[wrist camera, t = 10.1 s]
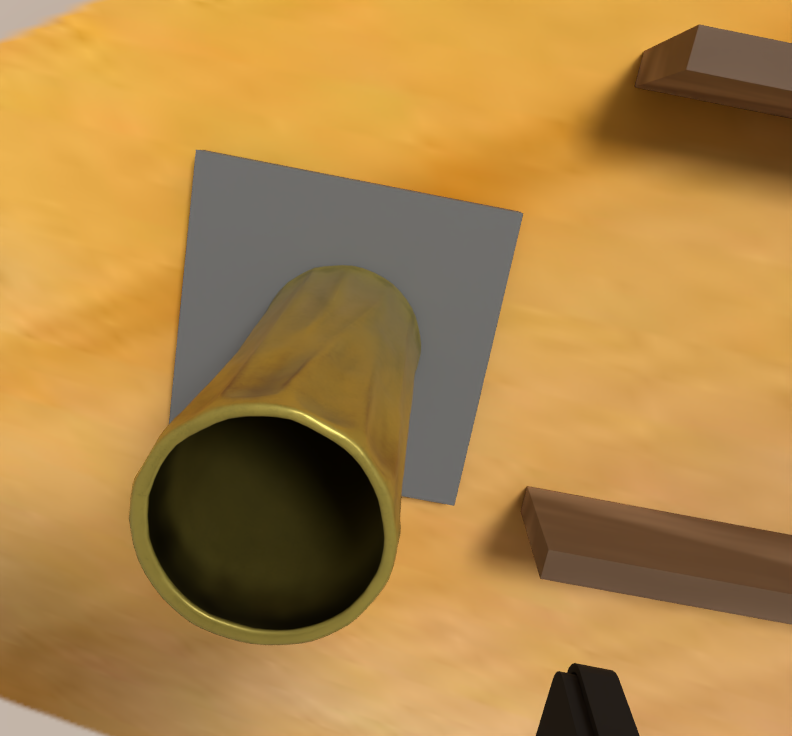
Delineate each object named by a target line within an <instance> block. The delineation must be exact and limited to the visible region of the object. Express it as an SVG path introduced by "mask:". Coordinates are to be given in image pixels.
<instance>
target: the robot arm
mask: <svg viewBox="0 0 792 736" xmlns="http://www.w3.org/2000/svg"><path fill="white" fill-rule="evenodd" d="M536 736H639V733H638V730H637V727H636V725H635V722H634V719H633V717H632V714H631V711H630V708H629V706H628V703H627V700H626V697H625V695H624V692H623V689H622V686H621V684H620V681H619V678H618V676H617V674H616V673H615V672H614V671H612V670H607V669H602V668H597V667H592V666H587V665H582V664H576V663H574V664H572V665H571V666H570V667H569V669H568V672H567V673H565V672H560V671H558V672H556V674H555V675H554V678H553V681H552V684H551V687H550V691H549V694H548V697H547V700H546V704H545V707H544V710H543V714H542V717H541V720H540V724H539V727H538V730H537V733H536Z"/></svg>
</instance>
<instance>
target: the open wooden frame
mask: <svg viewBox="0 0 792 736" xmlns="http://www.w3.org/2000/svg"><path fill="white" fill-rule="evenodd" d="M635 87H637V88H642V89H647V90H652V91H657V92H662V93H667V94H672V95H677V96H682V97H687V98H692V99H697V100H702V101H707V102H711V103H716V104H721V105H726V106H731V107H736V108H741V109H746V110H751V111H756V112H761V113H766V114H771V115H776V116H781V117H786V118H791V119H792V43H787V42H782V41H777V40H773V39H768V38H763V37H758V36H753V35H748V34H743V33H738V32H733V31H728V30H723V29H718V28H713V27H709V26H704V25H697V26H695V27H693V28H691V29H689V30H687V31H685V32H683V33H681V34H679V35H677V36H674V37H672V38H670V39H668V40H666V41H664V42H662V43H660V44H658V45H656V46H654V47H652V48H650V49H647V50H645V51H644V54H643V57H642V61H641V65H640V69H639V72H638V76H637V80H636V83H635ZM521 514H522V517H523V521H524V524H525V527H526V531H527V534H528V538H529V541H530V545H531V548H532V551H533V555H534V558H535V562H536V565H537V569H538V572H539V575H540V579H545V580H551V581H556V582H562V583H567V584H573V585H578V586H584V587H589V588H594V589H600V590H605V591H611V592H616V593H622V594H627V595H633V596H638V597H644V598H649V599H655V600H660V601H666V602H671V603H677V604H682V605H688V606H693V607H699V608H704V609H710V610H715V611H721V612H726V613H732V614H737V615H743V616H748V617H754V618H759V619H765V620H770V621H776V622H781V623H787V624H792V535H787V534H782V533H777V532H771V531H766V530H760V529H755V528H750V527H744V526H739V525H733V524H728V523H723V522H717V521H712V520H707V519H701V518H696V517H690V516H685V515H680V514H674V513H669V512H663V511H658V510H653V509H647V508H642V507H636V506H631V505H626V504H620V503H615V502H609V501H604V500H599V499H593V498H588V497H583V496H577V495H572V494H566V493H561V492H556V491H550V490H545V489H539V488H534V487H529V486H527V490H526V494H525V497H524V501H523V505H522V508H521Z"/></svg>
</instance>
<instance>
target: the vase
mask: <svg viewBox="0 0 792 736" xmlns="http://www.w3.org/2000/svg"><path fill="white" fill-rule="evenodd" d="M420 354H421V340H420V333H419V328H418V323H417V320H416V316H415V314H414V312H413V309H412V307H411V306H410V304H409V303H408V301H407V299H406V298H405V297H404V296H403V294H402V293H401V292H400V291H399V290H398V289H397V288H396V287H395V286H394V285H393V284H392V283H391V282H389V281H388V280H386V279H385V278H383V277H382V276H380V275H378V274H376V273H374V272H371V271H369V270H366V269H364V268H361V267H356V266H350V265H337V266H323V267H316V268H313V269H311V270H308V271H306V272H304V273H302V274H301V275H299V276H297V277H295V278H294V279H292V280H291V281H289V282H288V283H287V284H286V285H285V286H284V287H283V288H282V289H281V290H280V291H279V292H278V293H277V295H276V296H275V298H274V299H273V301H272V302H271V304H270V306H269V308H268V310H267V312H266V313H265V314H264V315H263V317H262V318H261V319H260V321H259V322H258V324H257V325H256V326H255V327H254V329H253V330H252V332H251V333H250V335H249V336H248V337H247V339H246V340H245V342H244V343H243V345H242V346H241V348H240V349H239V351H238V352H237V353H236V354H235V355H234V356H233V358H232V359H231V360H230V361H229V362H228V363H227V364H226V365H225V367H224V368H223V369H222V370H221V371H220V372H219V373H218V374H217V375H216V377H215V378H214V379H213V380H212V381H211V382H210V383H209V384H208V385H207V386H206V387H205V388H204V389H203V390H202V391H201V392H200V393H199V394H198V395H197V396H196V397H195V398H194V399H193V400H192V401H191V403H190V404H189V405H188V406H187V407H186V408H185V409H184V410H183V411H182V412H181V413H180V414H179V415H177V416H176V417H175V418H174V420H173V421H172V422H171V423H170V424H169V425H168V426H167V427H166V429H165V430H164V431H163V433H162V434H161V435H160V437H159V438H158V440H157V442H156V444H155V445H154V447H153V449H152V450H151V452H150V454H149V456H148V457H147V459H146V461H145V462H144V464H143V466H142V467H141V469H140V470H139V472H138V474H137V475H136V477H135V479H134V482H133V486H132V493H131V501H130V512H129V522H130V528H131V534H132V539H133V544H134V548H135V551H136V554H137V557H138V560H139V562H140V564H141V566H142V568H143V570H144V572H145V574H146V576H147V577H148V579H149V580H150V582H151V583H152V585H153V586H154V588H155V589H156V590H157V592H158V593H159V594H160V595H161V597H162V598H163V599H164V600H165V601H166V602H167V603H168V604H169V605H170V606H171V607H172V608H173V609H175V610H176V611H177V612H178V613H179V614H180V615H181V616H183V617H184V618H185V619H187V620H188V621H189V622H191V623H193V624H194V625H196V626H198V627H200V628H202V629H204V630H207V631H209V632H212V633H214V634H217V635H220V636H223V637H226V638H229V639H233V640H236V641H240V642H245V643H250V644H260V645H289V644H299V643H305V642H310V641H314V640H317V639H320V638H323V637H325V636H328V635H330V634H332V633H334V632H336V631H338V630H340V629H342V628H343V627H345V626H347V625H349V624H350V623H351V622H353V621H354V620H355V619H357V618H358V617H359V616H360V615H361V614H362V613H363V612H364V611H365V610H366V609H367V607H368V606H369V605H370V604H371V603H372V602H373V601H374V600H375V598H376V597H377V596H378V595H379V593H380V592H381V591H382V590H383V588H384V586H385V585H386V583H387V581H388V580H389V578H390V575H391V572H392V569H393V566H394V562H395V557H396V553H397V547H398V542H399V537H400V529H401V525H400V509H401V495H402V483H403V476H404V468H405V457H406V447H407V439H408V431H409V420H410V413H411V407H412V398H413V388H414V377H415V372H416V369H417V366H418V362H419V358H420Z"/></svg>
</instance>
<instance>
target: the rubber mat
mask: <svg viewBox="0 0 792 736" xmlns="http://www.w3.org/2000/svg"><path fill="white" fill-rule="evenodd" d="M522 217H523V213H521V212H518V211H513V210H508V209H503V208H498V207H493V206H488V205H482V204H477V203H472V202H467V201H462V200H457V199H452V198H447V197H442V196H436V195H431V194H426V193H421V192H416V191H411V190H406V189H401V188H395V187H390V186H385V185H380V184H375V183H370V182H365V181H360V180H354V179H349V178H344V177H339V176H334V175H329V174H324V173H319V172H313V171H308V170H303V169H298V168H293V167H288V166H283V165H278V164H272V163H267V162H262V161H257V160H252V159H247V158H242V157H237V156H231V155H226V154H221V153H216V152H211V151H206V150H196V156H195V166H194V176H193V186H192V196H191V206H190V216H189V227H188V237H187V247H186V257H185V267H184V277H183V287H182V297H181V307H180V318H179V328H178V338H177V348H176V358H175V368H174V378H173V388H172V399H171V409H170V419H169V424H170V423H171V422H172V421H173V420H174V418H175V417H176V416H177V415H179V414H180V413H181V412H182V411H183V410H184V409H185V408H186V407H187V406H188V405H189V404H190V403H191V401H192V400H193V399H194V398H195V397H196V396H197V395H198V394H199V393H200V392H201V391H202V390H203V389H204V388H205V387H206V386H207V385H208V384H209V383H210V382H211V381H212V380H213V379H214V378H215V377H216V375H217V374H218V373H219V372H220V371H221V370H222V369H223V368H224V367H225V365H226V364H227V363H228V362H229V361H230V360H231V359H232V358H233V356H234V355H235V354H236V353H237V352H238V351H239V349H240V348H241V346H242V345H243V343H244V342H245V340H246V339H247V337H248V336H249V335H250V333H251V332H252V330H253V329H254V327H255V326H256V325H257V324H258V322H259V321H260V319H261V318H262V317H263V315H264V314H265V313H266V312H267V310H268V308H269V306H270V304H271V302H272V301H273V299H274V298H275V296H276V295H277V293H278V292H279V291H280V290H281V289H282V288H283V287H284V286H285V285H286V284H287V283H288V282H289V281H291V280H292V279H294V278H295V277H297V276H299V275H301V274H302V273H304V272H306V271H308V270H311V269H313V268H316V267H323V266H337V265H350V266H356V267H361V268H364V269H366V270H369V271H371V272H374V273H376V274H378V275H380V276H382V277H383V278H385V279H386V280H388V281H389V282H391V283H392V284H393V285H394V286H395V287H396V288H397V289H398V290H399V291H400V292H401V293H402V294H403V296H404V297H405V298H406V299H407V301H408V303H409V304H410V306H411V307H412V309H413V312H414V314H415V316H416V320H417V323H418V328H419V333H420V340H421V354H420V358H419V362H418V366H417V369H416V372H415V377H414V388H413V398H412V407H411V413H410V420H409V431H408V439H407V447H406V457H405V468H404V476H403V483H402V495H401V496H405V497H410V498H416V499H421V500H427V501H432V502H437V503H443V504H448V505H454V504H455V500H456V496H457V492H458V487H459V483H460V479H461V475H462V471H463V466H464V462H465V458H466V454H467V449H468V445H469V441H470V437H471V432H472V428H473V424H474V420H475V416H476V411H477V407H478V403H479V399H480V394H481V390H482V386H483V382H484V377H485V373H486V369H487V365H488V361H489V356H490V352H491V348H492V344H493V339H494V335H495V331H496V327H497V322H498V318H499V314H500V310H501V305H502V301H503V297H504V293H505V289H506V284H507V280H508V276H509V272H510V267H511V263H512V259H513V255H514V250H515V246H516V242H517V238H518V234H519V229H520V225H521V221H522Z"/></svg>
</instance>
